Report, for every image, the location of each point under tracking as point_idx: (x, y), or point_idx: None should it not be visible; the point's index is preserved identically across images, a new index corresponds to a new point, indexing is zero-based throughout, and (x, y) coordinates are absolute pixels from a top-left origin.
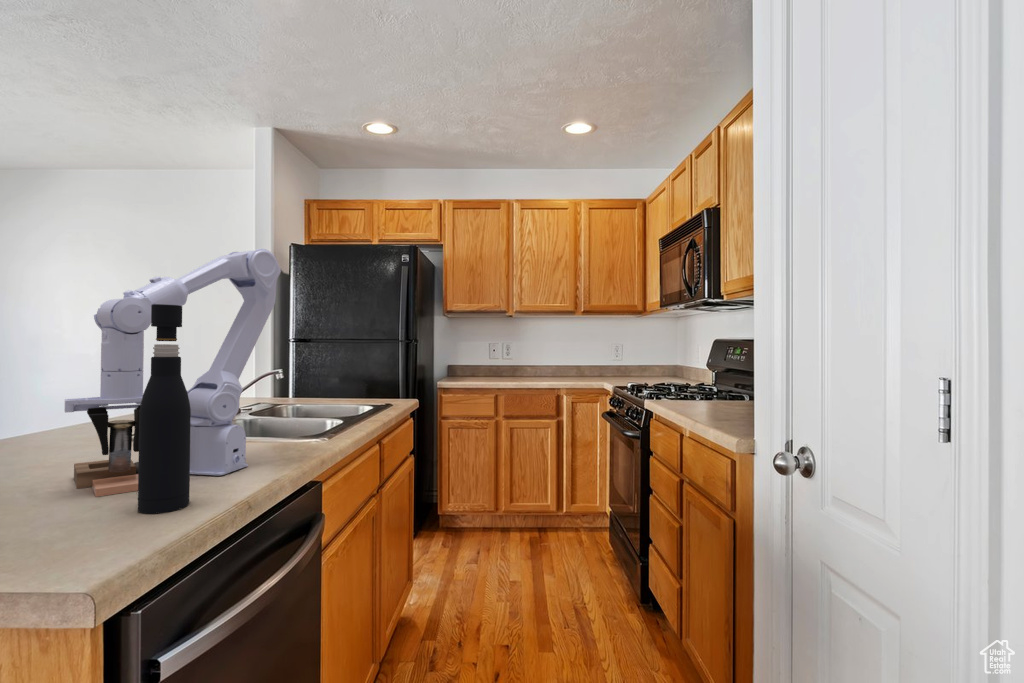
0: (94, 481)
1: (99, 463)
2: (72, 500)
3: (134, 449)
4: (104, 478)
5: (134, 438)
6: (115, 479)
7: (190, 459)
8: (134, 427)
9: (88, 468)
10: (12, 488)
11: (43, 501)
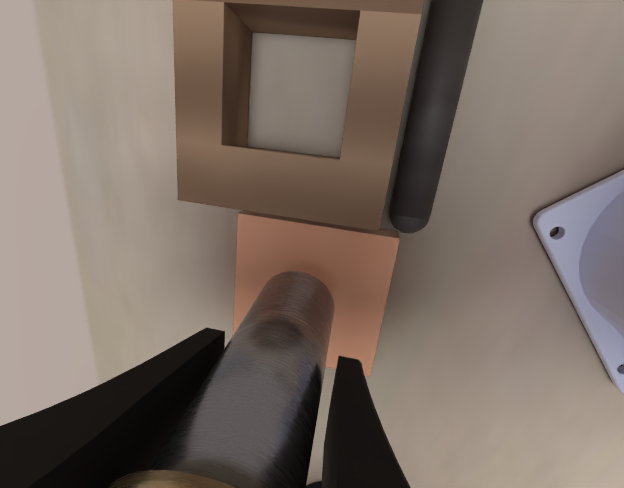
0: (240, 243)
1: (272, 5)
2: (195, 322)
3: (330, 404)
4: (272, 220)
5: (331, 430)
6: (298, 265)
7: (621, 294)
8: (338, 466)
9: (218, 123)
10: (44, 16)
11: (139, 279)
